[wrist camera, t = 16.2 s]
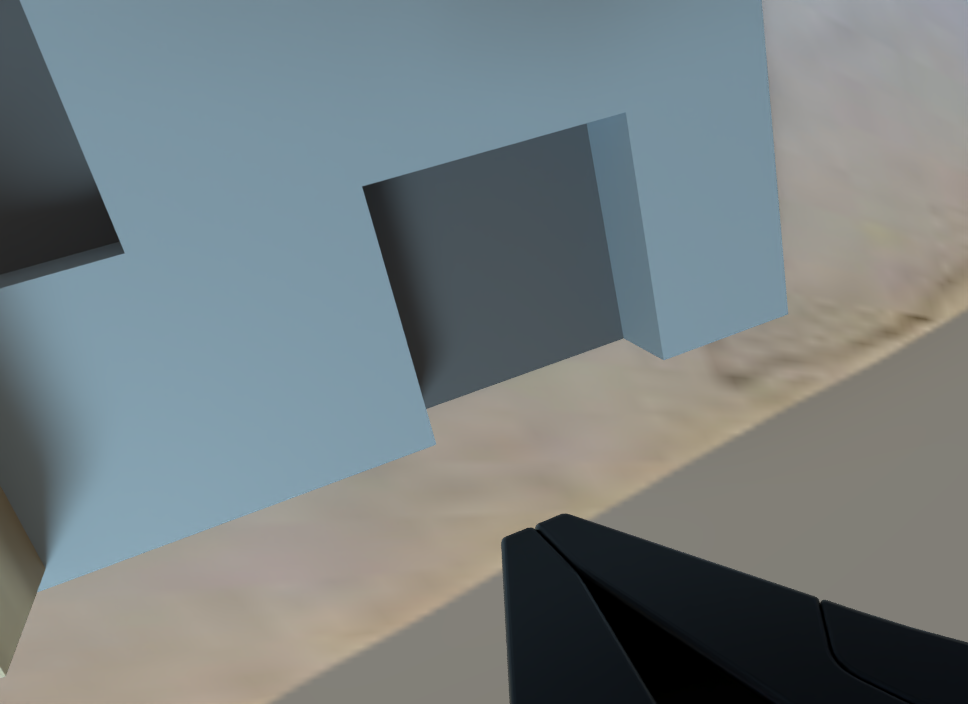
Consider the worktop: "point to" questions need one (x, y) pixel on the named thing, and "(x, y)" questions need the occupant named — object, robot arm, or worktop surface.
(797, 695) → the robot arm
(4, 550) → the block
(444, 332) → the board
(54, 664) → the worktop surface
